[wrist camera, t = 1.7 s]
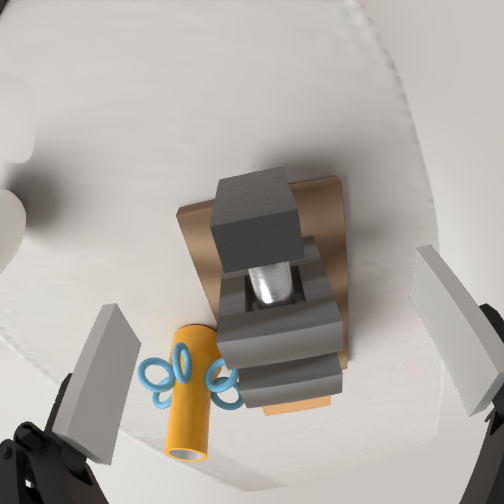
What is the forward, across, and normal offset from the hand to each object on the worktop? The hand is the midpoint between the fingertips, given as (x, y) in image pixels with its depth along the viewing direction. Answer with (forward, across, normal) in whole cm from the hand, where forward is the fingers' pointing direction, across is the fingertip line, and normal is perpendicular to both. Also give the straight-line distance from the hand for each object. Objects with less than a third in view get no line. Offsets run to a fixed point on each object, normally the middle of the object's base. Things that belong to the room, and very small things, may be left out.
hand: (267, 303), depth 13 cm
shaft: (+12, 0, -9) cm, 15 cm away
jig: (+16, 0, -14) cm, 21 cm away
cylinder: (+16, -11, -18) cm, 26 cm away
